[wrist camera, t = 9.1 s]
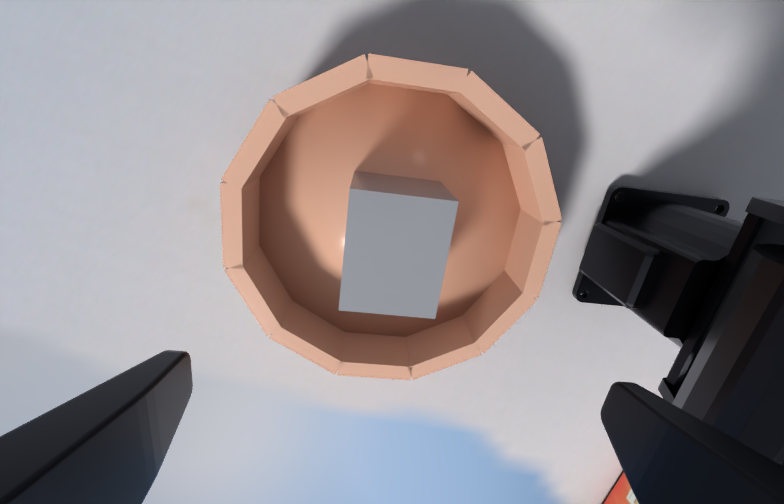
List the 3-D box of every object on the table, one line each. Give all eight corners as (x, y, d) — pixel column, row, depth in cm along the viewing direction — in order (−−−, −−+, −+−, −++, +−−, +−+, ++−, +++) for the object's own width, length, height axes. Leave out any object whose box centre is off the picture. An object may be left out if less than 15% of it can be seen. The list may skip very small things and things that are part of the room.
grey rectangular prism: (439, 181, 17) (458, 201, 13) (422, 277, 19) (435, 318, 15) (354, 170, 17) (349, 188, 13) (345, 269, 19) (338, 310, 15)
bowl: (558, 93, 17) (603, 89, 14) (490, 345, 22) (510, 387, 19) (247, 45, 16) (214, 29, 12) (249, 326, 21) (227, 367, 17)
